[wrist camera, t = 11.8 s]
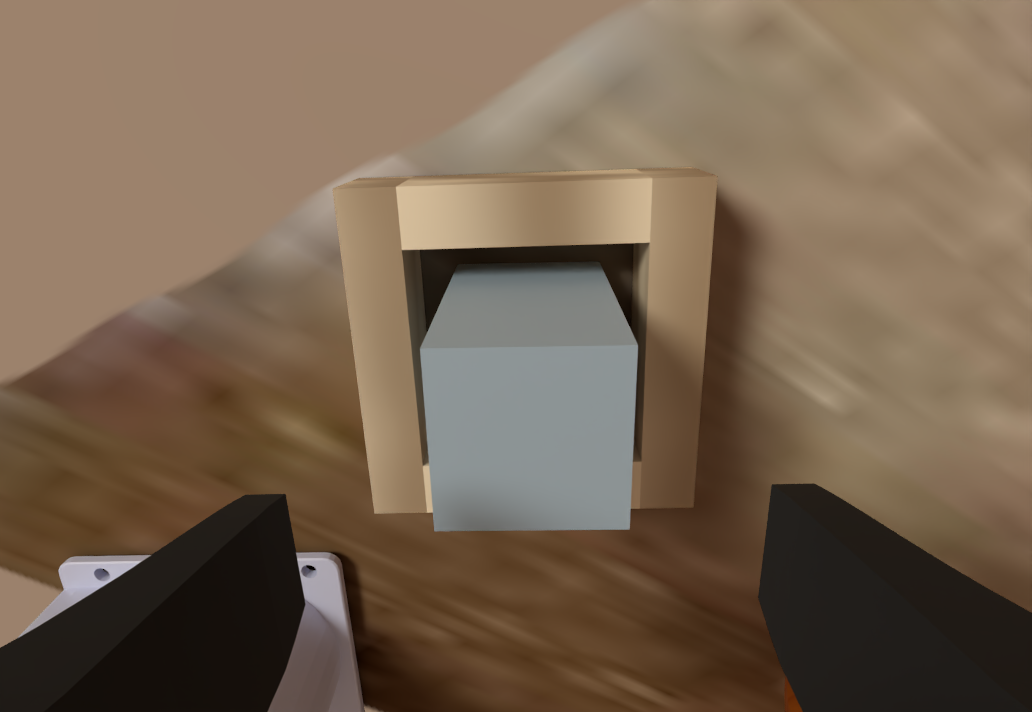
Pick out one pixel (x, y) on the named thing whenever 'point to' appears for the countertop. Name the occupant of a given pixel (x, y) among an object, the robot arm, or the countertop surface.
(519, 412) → the slate square peg
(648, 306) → the birch well block
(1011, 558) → the countertop surface
